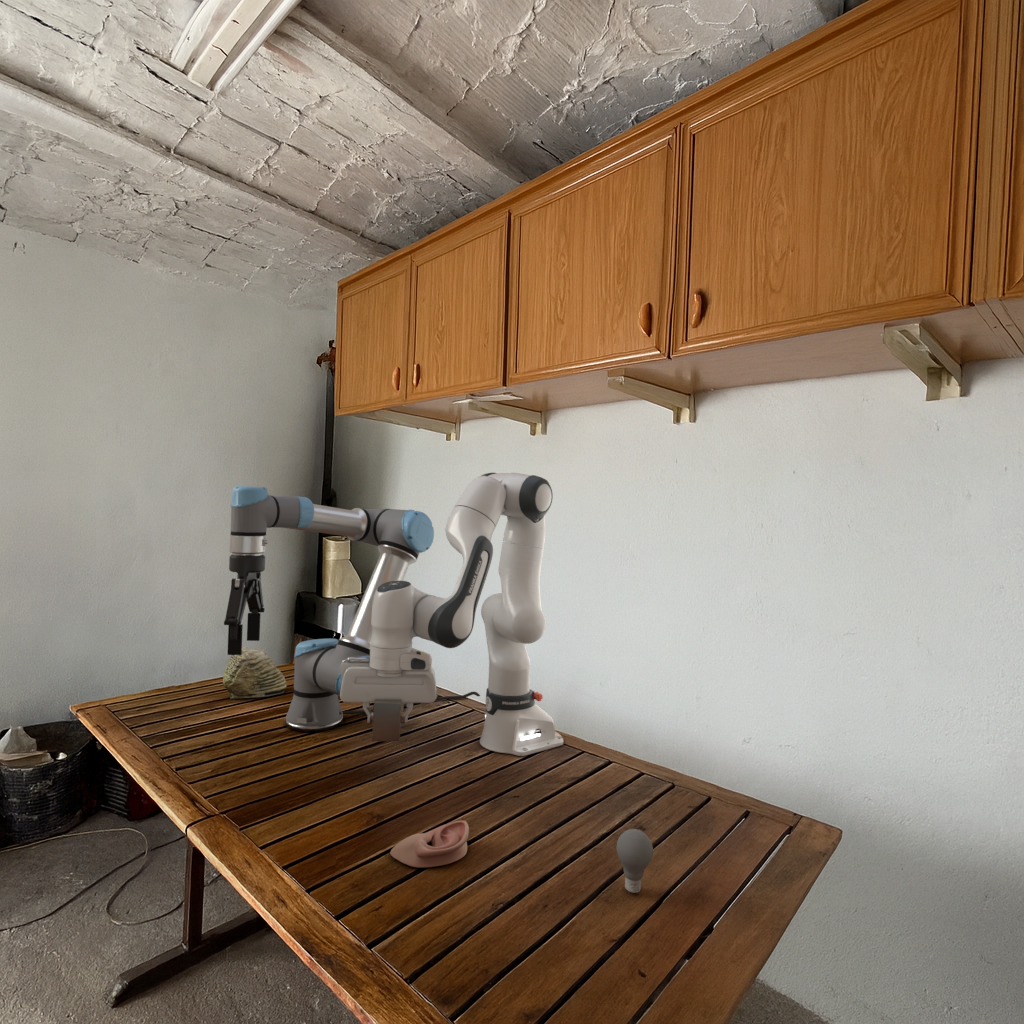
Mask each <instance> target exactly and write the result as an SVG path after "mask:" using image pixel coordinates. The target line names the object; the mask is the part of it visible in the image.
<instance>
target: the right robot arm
mask: <svg viewBox="0 0 1024 1024" xmlns="http://www.w3.org/2000/svg"><path fill="white" fill-rule="evenodd" d="M553 496H554V495H553V489H552V487H551V484H550V482H549V481H548V480H547V479H545V478H544V477H541V476H539V475H535V474H531V475H530V474H525V473H519V472H499V473H498V472H488V473H487V472H486V473H484V474H482V475H481V474H480V476H477V477H475V478H474V479H472V480H471V482H470V483H469V484H468V485H467V486H466V488H465V489H464V490H463V492H462V493H461V495H460V497H459V498H458V500H457V501H456V502H455V505H454V506H453V508H452V510H451V512H450V514H449V516H448V518H447V520H446V523H445V528H444V531H445V532H444V533H445V536H446V539H447V542H449V545H450V546H451V547H452V548H453V549H455V550H456V552H458V553H459V554H460V555H461V557H462V561H463V562H462V566H461V569H460V573H459V575H458V578H457V580H456V583H455V586H454V589H453V591H452V593H451V595H450V596H448V597H446V598H445V597H440V596H437V595H432V594H429V593H426V592H423V591H421V590H420V589H418V588H416V587H415V586H413V585H412V583H411V582H409V581H407V580H403V581H390V582H386V583H383V584H381V585H380V586H379V587H378V588H377V590H376V592H375V595H374V599H373V606H372V618H371V625H372V629H373V635H372V639H371V642H370V657H360V658H355V657H349V658H348V659H346V660H344V661H343V662H342V663H341V666H340V674H341V676H342V677H343V680H342V684H341V691H340V696H339V699H340V700H341V702H343V703H362V710H364V711H365V712H366V713H365V714H366V715H367V719H366V720H367V724H373V712H371V710H372V709H371V708H370V705H371V703H373V704H374V701H375V699H382V700H402V701H401V703H404V704H405V703H407V706H406V710H405V711H404V712H403V713H401V723H402V724H408V717H409V715H410V713H411V712H412V711H413V708H414V704H413V703H417V704H433V703H434V702H435V701H437V700H436V697H437V680H436V679H437V678H436V673H435V669H434V667H432V665H433V657H432V655H431V654H430V653H428V652H426V651H422V650H419V649H417V648H414V647H413V639H414V638H420V639H422V640H426V641H430V642H432V643H435V644H437V645H439V646H441V647H444V648H446V649H455V648H457V647H459V646H461V645H463V644H464V643H465V642H466V641H467V640H468V639H469V637H470V636H471V634H472V632H473V629H474V625H475V619H476V611H477V608H478V604H479V601H480V598H481V595H482V592H483V590H484V586H485V583H486V580H487V577H488V574H489V570H490V567H491V564H492V559H493V555H494V546H493V544H492V537H493V535H494V531H495V530H496V527H497V525H498V523H499V521H500V518H501V516H504V517H506V519H507V522H506V525H505V529H504V533H503V538H502V543H501V551H500V555H499V556H500V557H499V562H498V563H499V565H498V575H499V578H500V585H501V587H500V588H501V592H498V593H492V594H491V595H488V596H487V598H486V599H484V600H483V602H482V605H481V609H480V615H481V618H482V621H483V624H484V629H485V637H486V646H487V654H488V678H487V679H488V681H487V683H488V684H487V688H486V692H485V714H484V724H483V728H482V732H481V736H480V737H479V745H480V746H481V747H482V748H485V749H487V750H489V751H492V752H496V753H501V754H509V755H514V756H519V757H525V756H528V755H533V754H536V753H539V752H543V751H547V750H550V749H554V748H557V747H561V746H563V745H564V743H565V741H564V738H563V736H562V735H561V734H560V733H559V732H557V731H556V725H555V721H554V719H553V717H552V716H551V715H550V714H549V713H548V712H546V711H545V710H544V709H543V708H541V707H540V706H539V705H538V704H537V703H536V701H537V702H541V701H542V700H543V698H544V695H543V694H542V693H540V692H538V691H534V690H532V689H531V671H532V670H531V669H532V668H531V667H532V661H531V658H530V655H529V653H528V650H527V649H528V648H527V645H526V644H528V645H529V644H534V643H536V642H538V641H539V640H540V639H541V638H542V637H543V636H544V634H545V631H546V628H547V619H546V616H545V614H544V611H543V607H542V596H541V583H540V582H541V569H542V562H543V557H544V556H543V555H544V548H545V540H546V515H547V513H548V512H549V510H550V508H551V506H552V503H553V499H554V498H553ZM346 661H348V662H346ZM369 662H370V663H369Z"/></svg>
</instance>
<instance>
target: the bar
mask: <svg viewBox="0 0 1024 1024" xmlns="http://www.w3.org/2000/svg"><path fill="white" fill-rule="evenodd" d="M401 701H402V700H382V699H375V701H374V703H373V710H374V711H373V723H372V735H371V736H372V737H371V742H400V738H401V731H402V724H403V723H401V713H404V708H405V707H404V704H405V703H401Z"/></svg>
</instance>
